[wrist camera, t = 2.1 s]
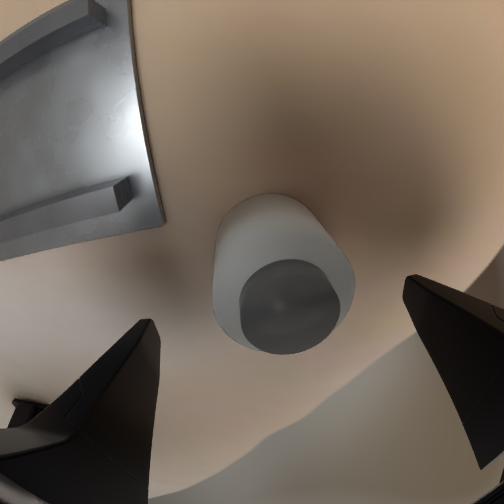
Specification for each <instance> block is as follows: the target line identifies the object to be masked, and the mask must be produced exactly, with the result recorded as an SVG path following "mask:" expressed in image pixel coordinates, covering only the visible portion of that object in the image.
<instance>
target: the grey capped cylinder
mask: <svg viewBox="0 0 504 504" xmlns="http://www.w3.org/2000/svg"><path fill="white" fill-rule="evenodd" d="M354 291H355V278H354V273H353V270H352V266H351V264H350V262H349V261H348V259H347V257H346V256H345V255H344V253H343V252H342V251H341V249H340V248H339V247H338V246H337V244H336V243H335V242H334V241H333V239H332V238H331V237H330V235H329V234H328V233H327V232H326V230H325V229H324V228H323V227H322V225H321V224H320V223H319V222H318V220H317V219H316V218H315V217H314V216H313V214H312V213H311V212H310V211H309V209H308V208H306V207H305V206H304V205H303V204H302V203H300V202H299V201H297V200H295V199H293V198H291V197H288V196H285V195H280V194H262V195H257V196H254V197H251V198H248V199H246V200H244V201H242V202H241V203H239V204H238V205H236V206H235V207H234V208H233V209H231V210H230V211H229V213H228V214H227V215H226V216H225V218H224V219H223V221H222V222H221V225H220V227H219V229H218V232H217V237H216V246H215V260H214V275H213V290H212V306H213V311H214V314H215V317H216V320H217V322H218V323H219V325H220V327H221V328H222V329H223V331H224V332H225V333H226V334H227V335H228V336H229V337H230V338H232V339H233V340H234V341H236V342H238V343H239V344H241V345H243V346H246V347H248V348H251V349H254V350H258V351H264V352H268V353H272V354H281V355H284V354H294V353H298V352H302V351H305V350H307V349H310V348H312V347H314V346H316V345H317V344H319V343H320V342H322V341H323V340H324V339H325V338H326V337H327V336H328V335H329V334H330V333H331V332H332V330H334V329H335V328H336V327H337V326H338V324H339V323H340V322H341V321H342V320H343V318H344V317H345V315H346V314H347V312H348V310H349V308H350V306H351V303H352V300H353V297H354Z"/></svg>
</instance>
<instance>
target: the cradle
mask: <svg viewBox="0 0 504 504" xmlns="http://www.w3.org/2000/svg"><path fill="white" fill-rule="evenodd" d="M165 222H166V220H165V216H164V212H163V207H162V203H161V199H160V194H159V190H158V186H157V181H156V176H155V172H154V167H153V162H152V157H151V152H150V147H149V141H148V136H147V130H146V125H145V119H144V113H143V107H142V100H141V94H140V87H139V80H138V72H137V65H136V56H135V47H134V38H133V27H132V14H131V0H68V1H66V2H64V3H62V4H61V5H59V6H57V7H55V8H53V9H51V10H49V11H48V12H46V13H44V14H42V15H40V16H39V17H37V18H35V19H34V20H32V21H30V22H29V23H27V24H26V25H24V26H23V27H21V28H19V29H18V30H16V31H15V32H14V33H12V34H11V35H9V36H8V37H6V38H5V39H4V40H2V41H1V42H0V261H3V260H7V259H11V258H15V257H19V256H23V255H27V254H31V253H36V252H40V251H44V250H48V249H53V248H57V247H62V246H66V245H71V244H75V243H80V242H85V241H89V240H94V239H99V238H104V237H109V236H114V235H119V234H124V233H129V232H134V231H139V230H145V229H150V228H155V227H161V226H164V224H165Z"/></svg>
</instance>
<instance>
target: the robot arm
mask: <svg viewBox="0 0 504 504" xmlns="http://www.w3.org/2000/svg"><path fill="white" fill-rule="evenodd" d="M403 301H404V304H405V306H406V308H407V310H408V312H409V315H410V317H411V319H412V321H413V324H414V326H415V328H416V331H417V333H418V335H419V336H420V338H421V340H422V342H423V344H424V346H425V347H426V349H427V351H428V353H429V355H430V357H431V359H432V361H433V363H434V364H435V366H436V368H437V370H438V372H439V374H440V376H441V378H442V380H443V382H444V384H445V386H446V389H447V390H448V393H449V395H450V397H451V399H452V401H453V403H454V406H455V408H456V410H457V412H458V414H459V417H460V419H461V421H462V423H463V426H464V429H465V431H466V433H467V436H468V439H469V441H470V444H471V446H472V449H473V451H474V454H475V457H476V460H477V462H478V465H479V468H480V469H481V470H482V469H484V468H485V467H486V466H488V465H489V464H491V463H492V462H493V461H495V460H496V459H498V458H499V457H500V456H502V455H503V454H504V309H502V308H500V307H497V306H495V305H491V304H490V303H488V302H485V301H483V300H480V299H478V298H476V297H473V296H471V295H468V294H466V293H463V292H461V291H458V290H456V289H453V288H451V287H448V286H446V285H443V284H441V283H438V282H435V281H433V280H430V279H428V278H425V277H422V276H420V275H417V274H414V275H410V276H407V277H406V279H405V284H404V289H403ZM160 347H161V340H160V336H159V333H158V331H157V329H156V326H155V324H154V322H153V320H152V319H150V318H149V319H141V320H139V321H138V322H137V323H136V324H135V325H134V326H133V327H132V328H131V329H130V330H129V331H127V332H126V333H125V334H124V335H123V336H122V337H121V338H120V339H119V340H118V341H117V342H116V343H115V344H114V345H113V346H112V347H111V348H110V349H109V350H107V351H106V352H105V353H104V354H103V355H102V356H101V357H100V358H99V359H98V360H97V361H96V362H95V363H94V364H93V365H92V366H91V367H90V368H89V369H88V370H87V371H86V372H85V373H84V374H83V375H82V376H81V377H80V378H79V379H77V380H76V381H75V382H74V383H73V384H72V385H71V386H70V387H69V388H68V389H67V390H66V391H65V392H64V393H63V394H62V395H61V396H59V397H58V398H57V399H56V400H55V401H54V402H52V403H51V404H50V405H49V406H45V405H40V404H34V403H29V402H24V401H19V400H15V399H13V401H12V404H13V405H14V406H15V407H16V409H15V411H14V413H13V415H12V418H11V420H10V422H9V425H8V427H7V428H5V429H0V504H148V486H149V471H150V458H151V447H152V437H153V427H154V419H155V410H156V402H157V394H158V387H159V377H160ZM472 504H504V469H503V473H502V476H501V480H500V483H499V485H497V486H496V487H495V488H493V489H492V490H491V491H489V492H488V493H486V494H485V495H483V496H482V497H481V498H479V499H478V500H476V501H475V502H473V503H472Z"/></svg>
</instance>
